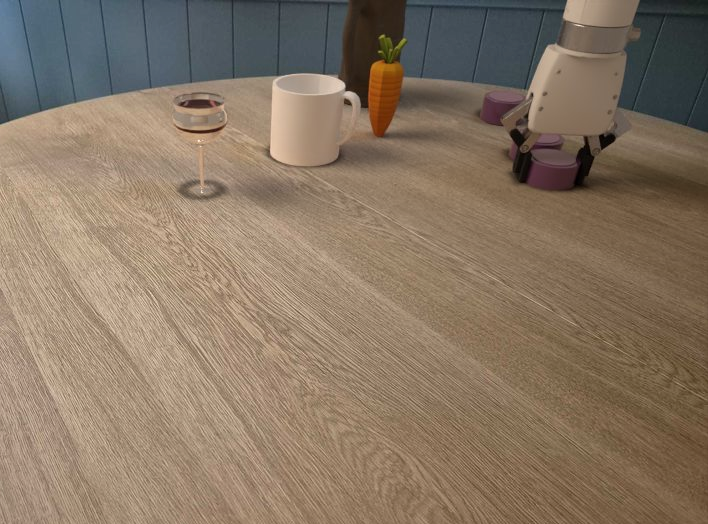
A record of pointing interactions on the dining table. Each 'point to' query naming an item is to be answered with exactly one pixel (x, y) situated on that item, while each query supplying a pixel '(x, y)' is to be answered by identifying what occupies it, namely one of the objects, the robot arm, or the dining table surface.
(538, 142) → the dish
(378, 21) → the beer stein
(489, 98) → the dish
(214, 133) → the wineglass
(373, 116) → the carrot
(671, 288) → the dining table surface
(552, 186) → the dish
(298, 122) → the mug
